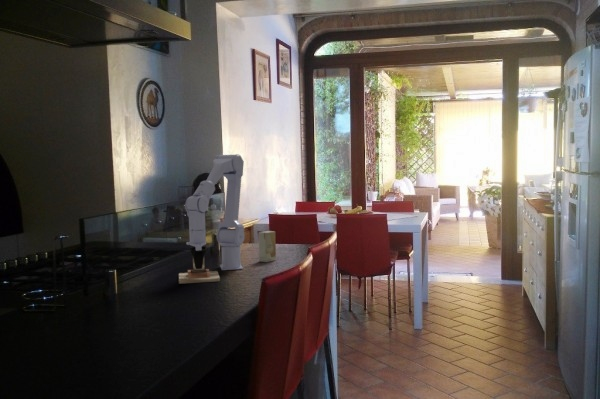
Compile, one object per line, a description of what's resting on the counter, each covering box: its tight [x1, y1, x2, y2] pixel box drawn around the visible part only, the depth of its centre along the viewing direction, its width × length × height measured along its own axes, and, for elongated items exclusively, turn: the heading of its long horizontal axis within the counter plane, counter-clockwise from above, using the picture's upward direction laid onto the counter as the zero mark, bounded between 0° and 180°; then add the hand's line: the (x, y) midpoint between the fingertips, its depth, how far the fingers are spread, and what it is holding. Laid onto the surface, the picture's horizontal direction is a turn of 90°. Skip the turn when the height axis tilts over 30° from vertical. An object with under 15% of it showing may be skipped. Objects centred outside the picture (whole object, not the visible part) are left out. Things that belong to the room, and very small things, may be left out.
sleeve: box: [192, 257, 205, 273], centre depth 208 cm, size 4×4×7 cm
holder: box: [178, 268, 221, 284], centre depth 208 cm, size 14×14×2 cm
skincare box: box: [258, 230, 277, 263], centre depth 241 cm, size 6×4×12 cm
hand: (198, 267), depth 208 cm, fingers closed on sleeve, 4 cm apart
